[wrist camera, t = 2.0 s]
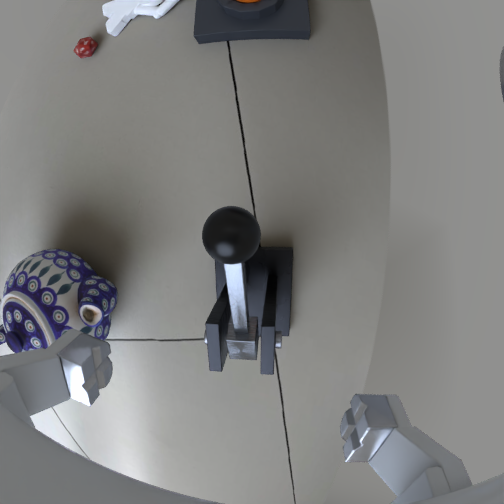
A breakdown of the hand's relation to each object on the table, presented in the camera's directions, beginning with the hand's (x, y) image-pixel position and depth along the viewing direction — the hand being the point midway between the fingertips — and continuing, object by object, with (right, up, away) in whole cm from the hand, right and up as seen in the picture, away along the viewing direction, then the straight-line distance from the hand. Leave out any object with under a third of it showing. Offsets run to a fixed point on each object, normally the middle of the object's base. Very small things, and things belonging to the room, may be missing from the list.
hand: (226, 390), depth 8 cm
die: (-20, +30, +18) cm, 41 cm away
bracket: (+1, 0, +24) cm, 24 cm away
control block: (+1, +32, +15) cm, 35 cm away
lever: (0, +2, +12) cm, 12 cm away
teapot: (-23, -1, +27) cm, 35 cm away
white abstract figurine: (-12, +36, +16) cm, 41 cm away
